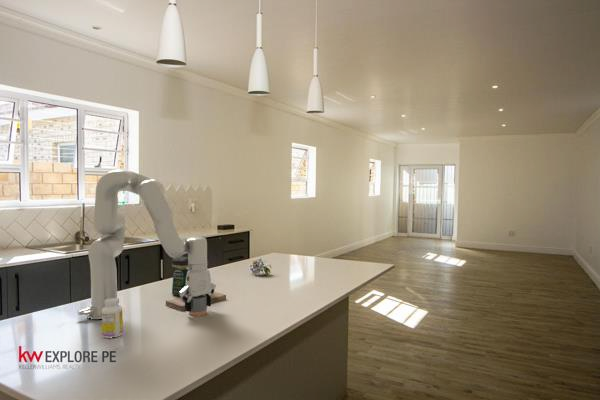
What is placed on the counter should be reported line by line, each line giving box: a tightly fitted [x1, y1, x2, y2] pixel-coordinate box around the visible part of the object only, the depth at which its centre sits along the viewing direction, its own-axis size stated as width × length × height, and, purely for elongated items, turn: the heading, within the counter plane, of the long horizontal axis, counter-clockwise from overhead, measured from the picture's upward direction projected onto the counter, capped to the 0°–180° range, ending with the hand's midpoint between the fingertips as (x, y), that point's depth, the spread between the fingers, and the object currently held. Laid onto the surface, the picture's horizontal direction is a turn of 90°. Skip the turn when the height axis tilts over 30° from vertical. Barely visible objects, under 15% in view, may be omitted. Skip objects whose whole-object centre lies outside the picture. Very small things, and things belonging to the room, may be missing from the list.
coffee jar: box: [171, 255, 189, 297], centre depth 199 cm, size 10×8×19 cm
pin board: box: [165, 291, 227, 312], centre depth 186 cm, size 24×12×2 cm, turn 139°
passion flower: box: [247, 257, 273, 277], centre depth 244 cm, size 11×11×12 cm
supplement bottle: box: [101, 297, 124, 339], centre depth 144 cm, size 7×7×13 cm
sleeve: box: [188, 295, 208, 317], centre depth 170 cm, size 7×7×7 cm
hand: (198, 308), depth 170 cm, fingers open, 9 cm apart
